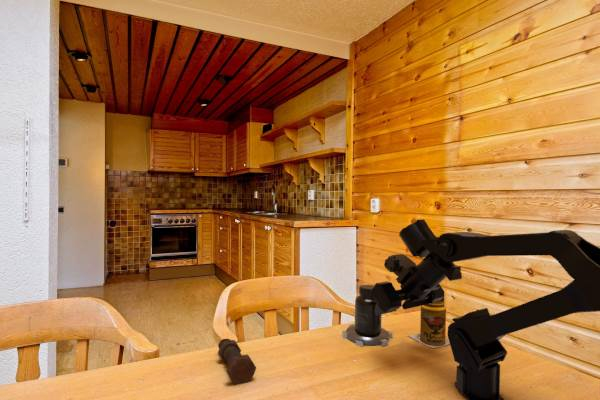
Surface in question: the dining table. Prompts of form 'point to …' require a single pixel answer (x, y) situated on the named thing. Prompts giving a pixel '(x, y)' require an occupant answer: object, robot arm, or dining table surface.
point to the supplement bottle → (366, 313)
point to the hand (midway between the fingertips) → (389, 310)
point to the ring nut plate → (369, 341)
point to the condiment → (432, 325)
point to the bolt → (236, 362)
